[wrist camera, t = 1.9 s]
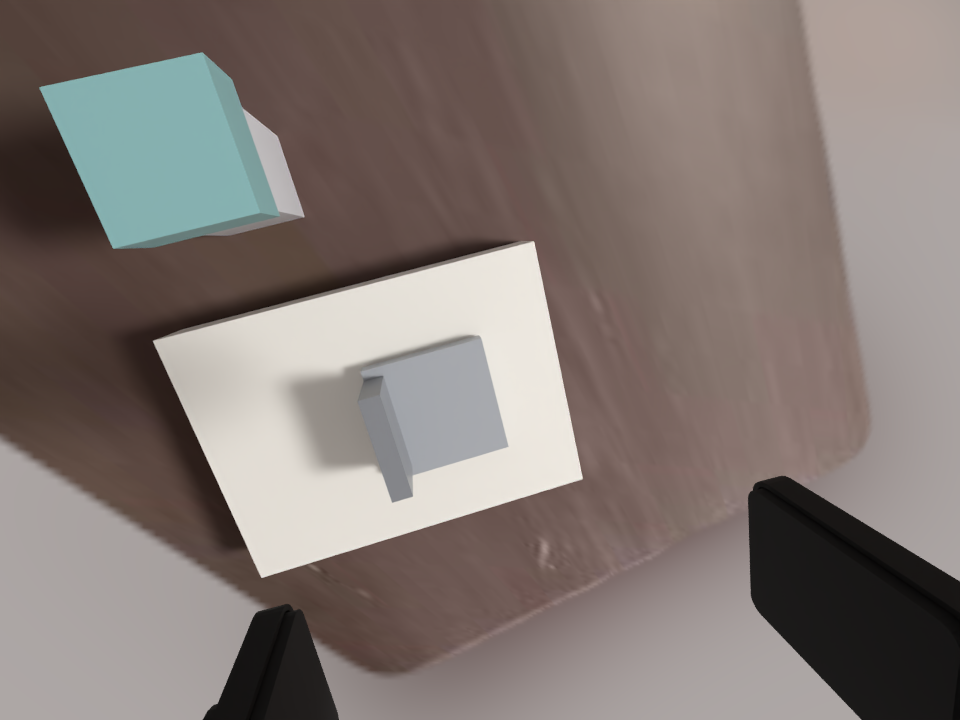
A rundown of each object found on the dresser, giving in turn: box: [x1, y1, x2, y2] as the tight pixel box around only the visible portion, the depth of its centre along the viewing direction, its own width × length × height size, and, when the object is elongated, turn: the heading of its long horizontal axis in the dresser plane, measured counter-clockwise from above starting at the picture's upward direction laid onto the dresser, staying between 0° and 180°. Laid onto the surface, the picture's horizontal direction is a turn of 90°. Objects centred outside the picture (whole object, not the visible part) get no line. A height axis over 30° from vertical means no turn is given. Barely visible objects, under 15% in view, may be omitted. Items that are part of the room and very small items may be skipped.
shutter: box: [357, 335, 509, 503], centre depth 23 cm, size 6×6×4 cm
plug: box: [39, 53, 305, 249], centre depth 19 cm, size 5×5×10 cm
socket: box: [153, 241, 583, 578], centre depth 26 cm, size 19×14×3 cm
